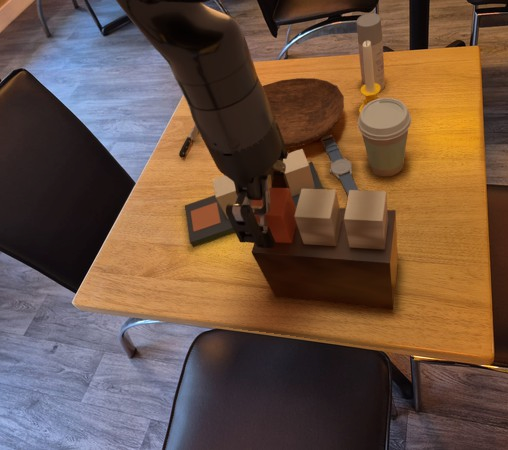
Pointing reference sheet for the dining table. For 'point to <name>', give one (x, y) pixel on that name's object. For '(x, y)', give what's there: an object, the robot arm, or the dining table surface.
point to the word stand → (336, 251)
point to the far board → (225, 222)
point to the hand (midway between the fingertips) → (275, 217)
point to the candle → (368, 76)
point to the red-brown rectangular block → (280, 214)
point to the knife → (188, 141)
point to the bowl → (304, 108)
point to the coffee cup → (385, 134)
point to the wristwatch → (339, 165)
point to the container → (371, 32)
